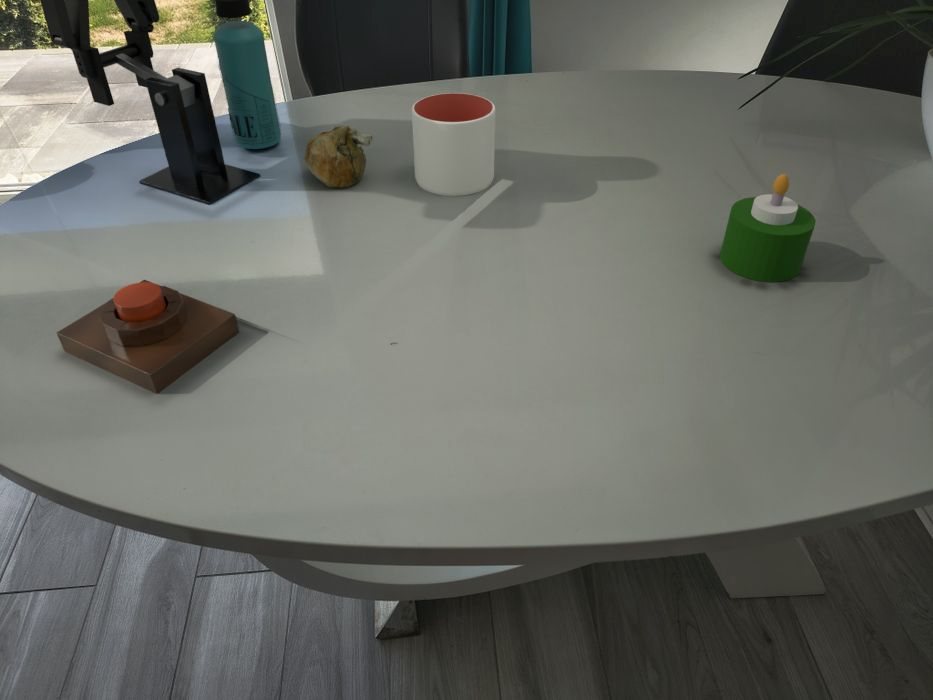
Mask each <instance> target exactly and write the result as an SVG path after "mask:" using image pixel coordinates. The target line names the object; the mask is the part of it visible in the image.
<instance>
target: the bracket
mask: <svg viewBox="0 0 933 700" xmlns="http://www.w3.org/2000/svg"><path fill="white" fill-rule="evenodd" d="M171 73H172V76H175V75H178V76H180V77H181V78H183V79H185V80H187V81H189V82H190V83H192V84H194V86H195V103H194V104H192V105H190V106H187V107H184V103H183V99H182V95H181V91H180V87H179V83H175V82H170V81H166V80H162V79H157V78H153V77H151V78H148V79H145V81H146V85H147V87H146V88H147V92H148V96H149V99H150V103H151V106H152V110H153V114H154V119H155V121H156V125H157V128H158V129H157V130H158V132H159V136H160V139H161V144H162V147H163V151H164V153H165V157H166V163H167V167H165V168H162V169H161V170H159V171H156V172H154V173H152V174H150V175H148V176H146V177H144V178H141V179H140V180H139V181H138V182H139V184H140V185H143V186H147V187H149V188H152V189H156V190H159V191H163V192H166V193H168V194H173V195H176V196H178V197H182V198H185V199H188V200H191V201H195V202H198V203H201V204H204V205H208V206H211V205H213V204H215V203H216V202H218V201H220V200H222V199H223V198H225V197H227V196H229V195H231V194H232V193H234V192H236V191H238V190H240V189H241V188H243V187H245V186H246V185H248V184H250V183H252V182H254V181H257V179H259V178H261V177H262V176H261V173H259V172H255V171H251V170H248V169H245V168H240V167H236V166H233V165H230V164H225V159H224V155H223V154H224V153H223V150H222V144H221V141H220V136H219V131H218V127H217V123H216V118H215V114H214V109H213V105H212V99H211V96H210V91H209V86H208V83H207V78H206V73H205V72H201V71H196V70H192V69H187V68H182V67H175V68H172V69H171Z"/></svg>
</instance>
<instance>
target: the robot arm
mask: <svg viewBox="0 0 933 700" xmlns="http://www.w3.org/2000/svg"><path fill="white" fill-rule="evenodd" d="M39 1H40V5H41V8H42V12H43V15H44V19H45V23H46V27H47V30H48V35H49V37H50V42H51V43H52V44H53V45H54V46H57V47H61V48H66V49H69V50H71V52H72V55H73V59H74V61H75V64H76V66H77V70H78V73H79V76H81V77H82V78H84V79H86V81H87V84H88V87H89V90H90V93H91V97H92V100H93V102H94V103H97V104H100V105H104V106H108V107H111V106H113V105H115V101H114V98H113V94H112V91H111V88H110V84H109V81H108V78H107V75H106V70H105V68H104V67H103V64H102V60H101V57H100V50H99V48H98V47H94V46H91V29H90V7H89V2H90V1H89V0H39ZM113 2H114V3H115V5H116V7H117V8H118V11H119V12H120V14H121V16H122V18H123V19H124V21H125V23H126V25H127V27H128V28H129V29H130V30H125V31H123V35H124V38H125V42H126V45H127V44H131V43H135V44H136V45H137V46H138V47H139V49H140V55H139V56H137V57H134V58H132V59H134V60H136V61H138V62H139V63H141V64H143V65H145V66H147V67H148V68H150V69H152V70H154V67H153V62H152V58H154V49H153V45H152V41H151V38H150V33H153V32H154V29H155V26H154V23H158V22H159V21H160V14H159V11H158V6H157V4H156V1H155V0H113ZM134 75H135V79H136V82H137V85H138V86H139V87H144V88H147V85H146V81H145V79H143V78H141V77H140V76H138V75H136V74H134Z"/></svg>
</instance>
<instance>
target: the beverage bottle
mask: <svg viewBox="0 0 933 700" xmlns="http://www.w3.org/2000/svg"><path fill="white" fill-rule="evenodd" d="M214 2H215V12H216V16H217V17H219V18H223V19H240V18H244V17H248V16H249V15H251V14H252V9H251V6H250V2H249V0H214ZM264 36H265V34H264V31H263V30H262V29H261V28H260V27H258V26H257V25H256V24H255V23H253V22H252V21H247V20H234V21H227V22H224V23H222V24H219V26H218V27H217V28H216V30H215V32H214V33H213V35H212V38H213V39H212V40H213V42H214V46H215V50H216V56H217V59H216V61H218V71H219V73H220V74H219V75H220V79H221V84H222V85H223V89H224V94H225V103H226V104H227V107H228V108H227V112H228V117H229V123H230V126H231V131H232V133H233V134H232V136H233V138H234V141H235V142H236V144H237V145H238V146H239V148H243V149H247V150H260V149H266V148H270V147H273V146H276V145H277V144H278V143H280V141H281V138H282V137H281V135H282V133H283V132H282V128H281V122H280V116H279V115H278V107H277V104H276V98H275V92H274V87H273V84H272V79H271V74H270V68H269V67H270V66H269V62H268V56H267V50H266V43H265V37H264Z"/></svg>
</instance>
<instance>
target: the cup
mask: <svg viewBox="0 0 933 700" xmlns="http://www.w3.org/2000/svg"><path fill="white" fill-rule="evenodd" d="M411 122H412V123H411V124H412V125H411V127H412V145H413V163H414V179H415V181H416V184H417V185H418V186H419V187H420V188H421V189H422V190H424V191H426V192H427V193H430V194H434V195H438V196H445V197H462V196H469V195H473V194H478V193H480V192H482V191H484V190H486V189H487V188H489V187H490V186H491V184H492V183H493V181H494V178H495V148H496V147H495V146H496V144H495V143H496V105H495V104H494V103H493V102H492V101H491V100H489V99H488V98H486V97H483V96H480V95H476V94H471V93H464V92H445V93H436V94H433V95H428V96H425V97H423V98H421V99H419V100H417V101H415V102H414V103H413V105H412V106H411Z"/></svg>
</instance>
